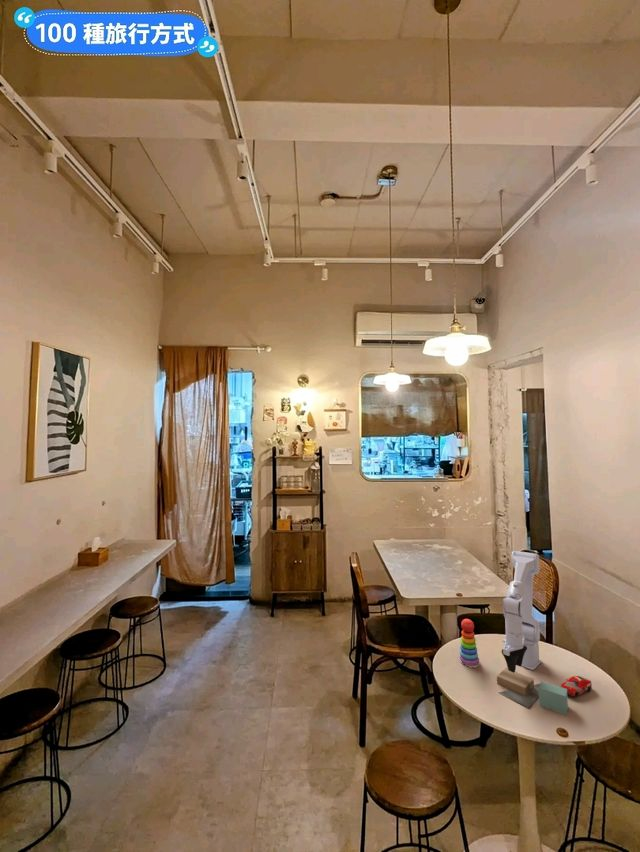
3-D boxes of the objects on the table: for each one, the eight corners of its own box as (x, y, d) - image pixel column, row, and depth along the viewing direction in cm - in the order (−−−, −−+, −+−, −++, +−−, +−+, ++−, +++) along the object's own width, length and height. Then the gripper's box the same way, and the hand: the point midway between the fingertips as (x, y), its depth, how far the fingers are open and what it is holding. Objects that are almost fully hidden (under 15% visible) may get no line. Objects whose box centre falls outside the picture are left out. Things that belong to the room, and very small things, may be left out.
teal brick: (541, 698, 141) (540, 680, 141) (567, 707, 136) (567, 689, 136) (539, 705, 137) (538, 687, 137) (566, 715, 132) (565, 696, 132)
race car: (572, 699, 139) (572, 687, 139) (557, 690, 144) (557, 679, 144) (595, 690, 145) (595, 679, 145) (579, 682, 149) (579, 671, 150)
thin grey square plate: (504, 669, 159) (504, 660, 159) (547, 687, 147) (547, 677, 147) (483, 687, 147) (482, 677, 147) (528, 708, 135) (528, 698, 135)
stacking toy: (462, 658, 167) (461, 613, 168) (482, 664, 162) (480, 618, 163) (456, 667, 160) (455, 620, 161) (477, 673, 156) (475, 625, 157)
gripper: (511, 621, 156) (512, 657, 155) (494, 633, 146) (495, 671, 145) (530, 627, 150) (531, 664, 150) (514, 640, 141) (515, 679, 140)
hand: (514, 668), depth 147 cm, fingers open, 5 cm apart
